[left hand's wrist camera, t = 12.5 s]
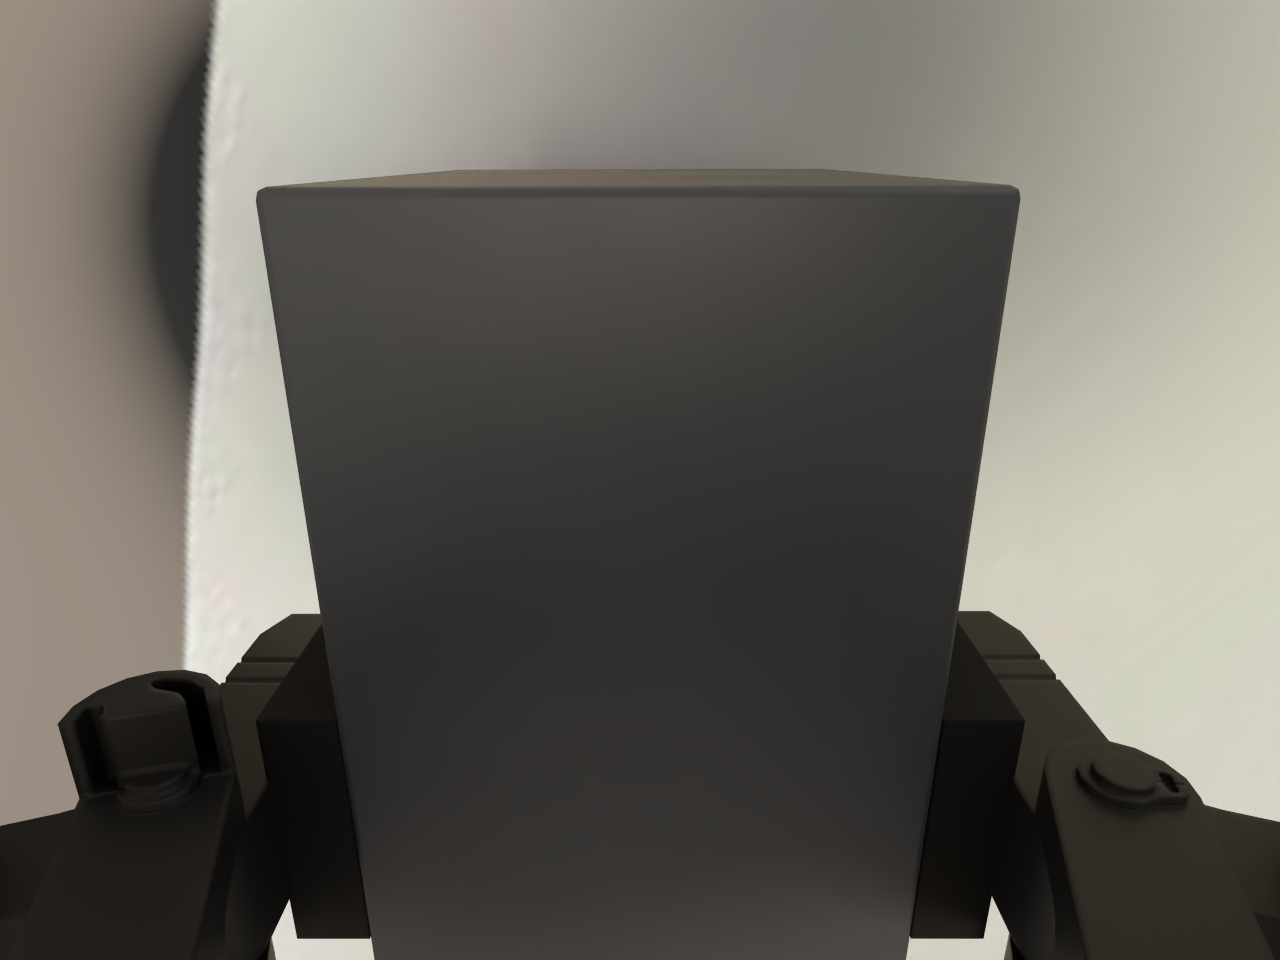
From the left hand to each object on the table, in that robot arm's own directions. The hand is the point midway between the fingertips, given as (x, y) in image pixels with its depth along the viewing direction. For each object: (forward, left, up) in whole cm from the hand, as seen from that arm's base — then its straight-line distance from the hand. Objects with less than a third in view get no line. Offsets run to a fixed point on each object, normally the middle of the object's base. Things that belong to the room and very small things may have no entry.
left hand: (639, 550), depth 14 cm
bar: (+31, +7, -1) cm, 31 cm away
